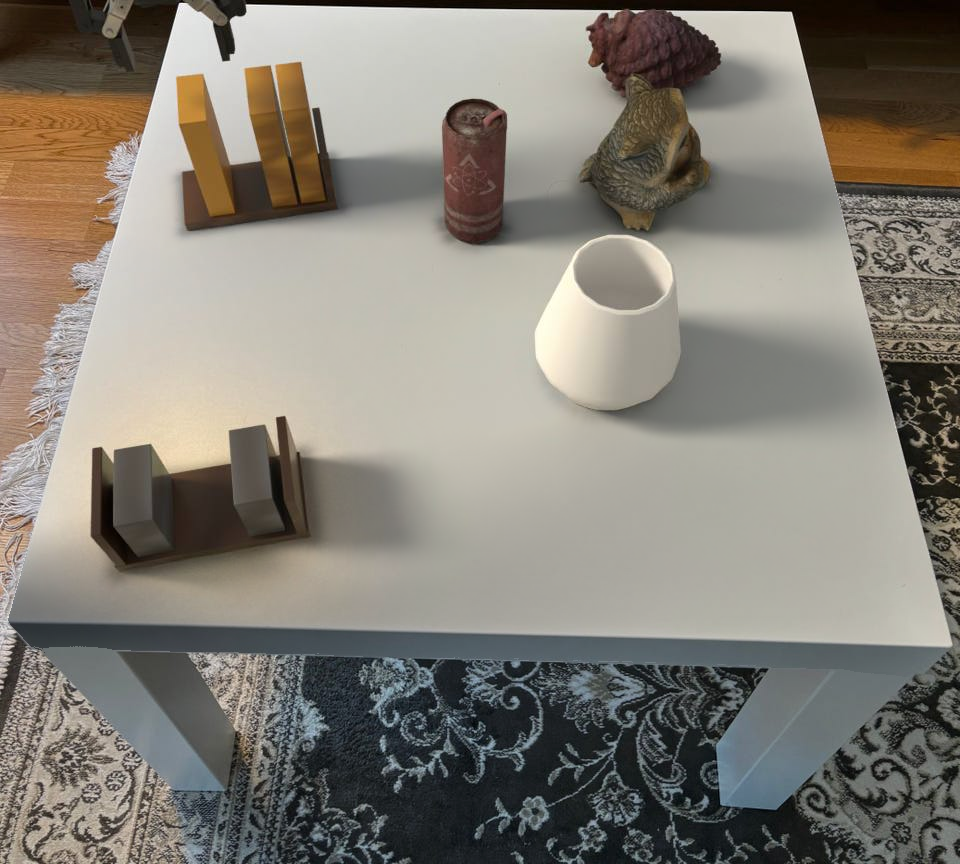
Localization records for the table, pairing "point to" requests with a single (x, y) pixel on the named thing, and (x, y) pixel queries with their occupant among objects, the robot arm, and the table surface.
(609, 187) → the figurine
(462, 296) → the table surface
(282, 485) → the brown book rack
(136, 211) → the table surface
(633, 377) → the cup
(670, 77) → the pine cone
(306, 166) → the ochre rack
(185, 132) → the ochre book
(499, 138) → the can
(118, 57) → the robot arm
